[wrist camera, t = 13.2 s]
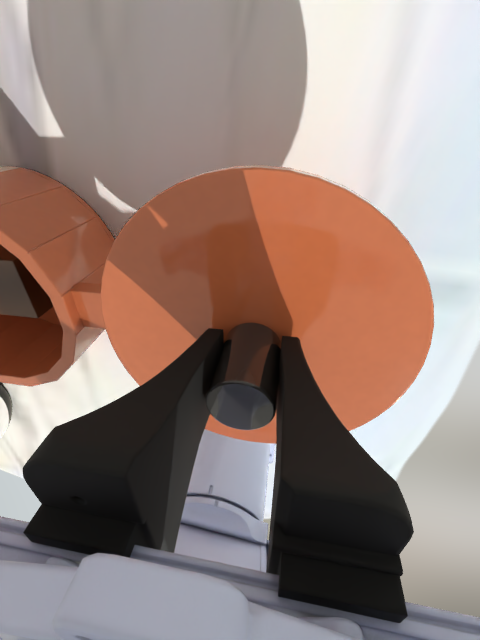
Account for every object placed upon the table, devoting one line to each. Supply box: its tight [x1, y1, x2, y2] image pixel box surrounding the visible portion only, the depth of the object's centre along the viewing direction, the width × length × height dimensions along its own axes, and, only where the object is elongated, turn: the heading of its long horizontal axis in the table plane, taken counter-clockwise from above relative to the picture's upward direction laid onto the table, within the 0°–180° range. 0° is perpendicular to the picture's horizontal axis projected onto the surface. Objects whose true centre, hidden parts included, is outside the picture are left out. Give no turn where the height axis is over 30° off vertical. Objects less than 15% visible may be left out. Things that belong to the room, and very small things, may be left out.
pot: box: [0, 166, 115, 386], centre depth 20 cm, size 13×18×6 cm
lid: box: [101, 165, 434, 444], centre depth 12 cm, size 14×14×5 cm
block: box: [0, 245, 53, 318], centre depth 21 cm, size 4×4×4 cm
